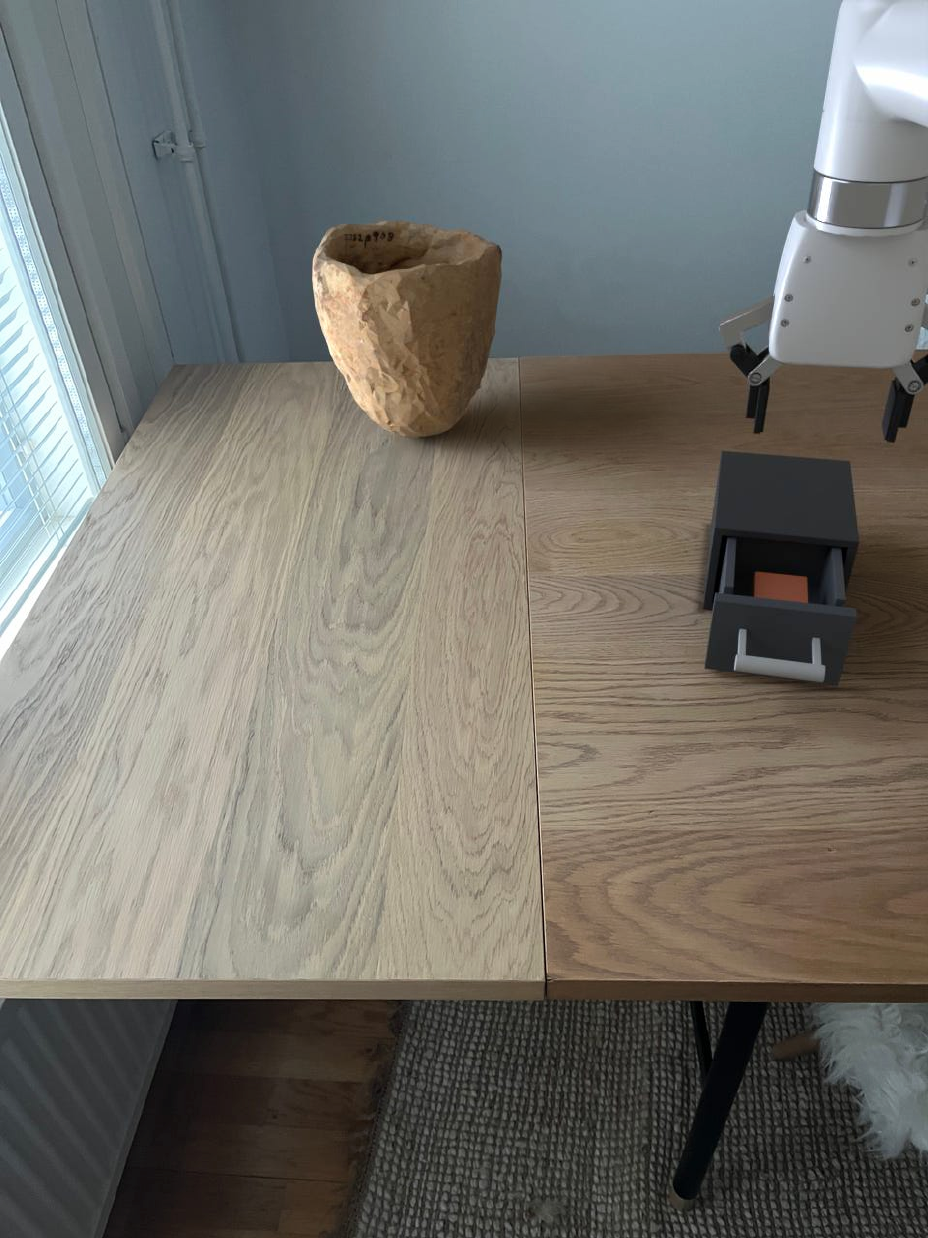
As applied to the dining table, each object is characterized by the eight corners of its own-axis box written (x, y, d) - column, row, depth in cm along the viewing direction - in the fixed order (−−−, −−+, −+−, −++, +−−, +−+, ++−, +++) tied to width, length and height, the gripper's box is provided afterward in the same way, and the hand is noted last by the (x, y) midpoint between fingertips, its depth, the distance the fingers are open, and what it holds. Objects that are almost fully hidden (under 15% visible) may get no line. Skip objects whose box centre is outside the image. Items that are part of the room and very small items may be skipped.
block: (798, 616, 89) (807, 576, 86) (799, 647, 85) (808, 607, 82) (747, 610, 90) (754, 570, 87) (746, 641, 86) (753, 601, 83)
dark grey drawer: (840, 726, 79) (861, 655, 74) (700, 706, 82) (711, 637, 77) (831, 593, 93) (848, 527, 88) (711, 580, 95) (721, 515, 90)
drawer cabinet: (837, 624, 90) (859, 541, 84) (702, 609, 93) (714, 527, 87) (831, 539, 101) (850, 460, 95) (710, 527, 104) (721, 450, 98)
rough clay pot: (542, 425, 124) (544, 227, 108) (424, 496, 112) (406, 285, 96) (420, 380, 136) (405, 196, 121) (300, 440, 124) (267, 244, 108)
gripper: (999, 184, 64) (935, 415, 75) (735, 182, 68) (710, 402, 79) (1020, 216, 59) (948, 461, 69) (732, 212, 63) (705, 445, 73)
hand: (821, 430), depth 74 cm, fingers open, 9 cm apart
